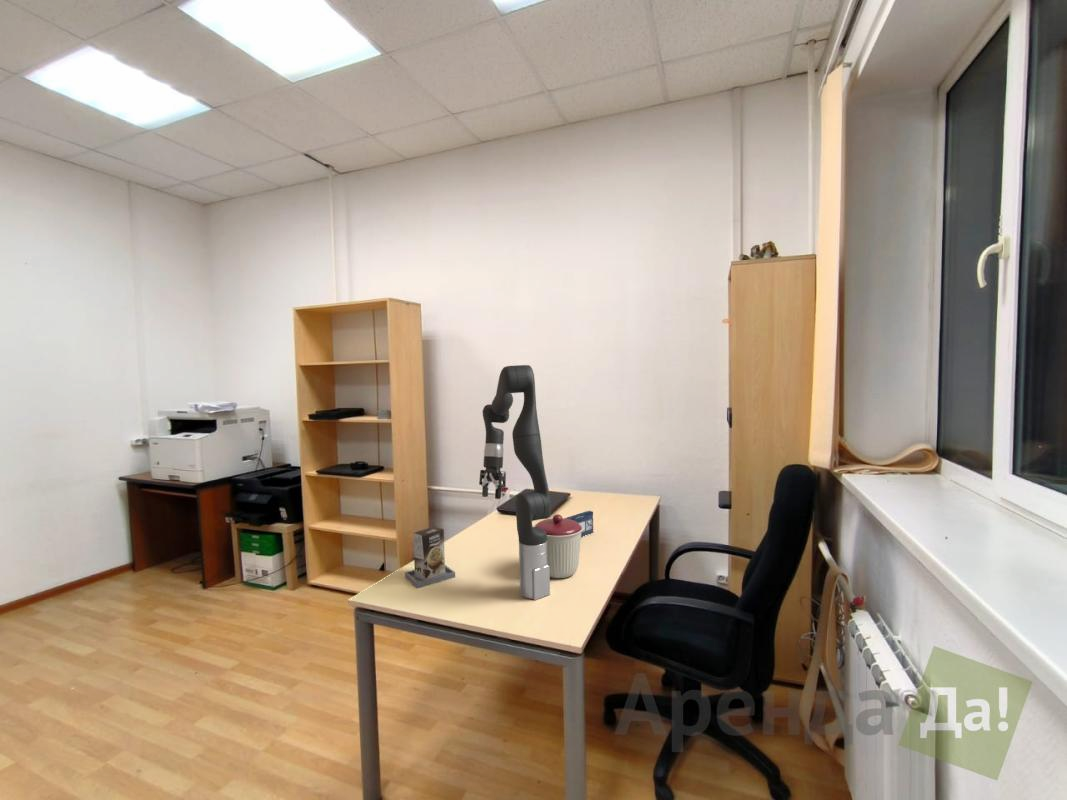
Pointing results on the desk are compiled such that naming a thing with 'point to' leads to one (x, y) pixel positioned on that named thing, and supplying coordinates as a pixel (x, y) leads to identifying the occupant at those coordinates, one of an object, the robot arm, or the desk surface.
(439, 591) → the desk surface
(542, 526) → the canister
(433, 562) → the coffee box
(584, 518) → the vhs cassette tape
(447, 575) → the tray
